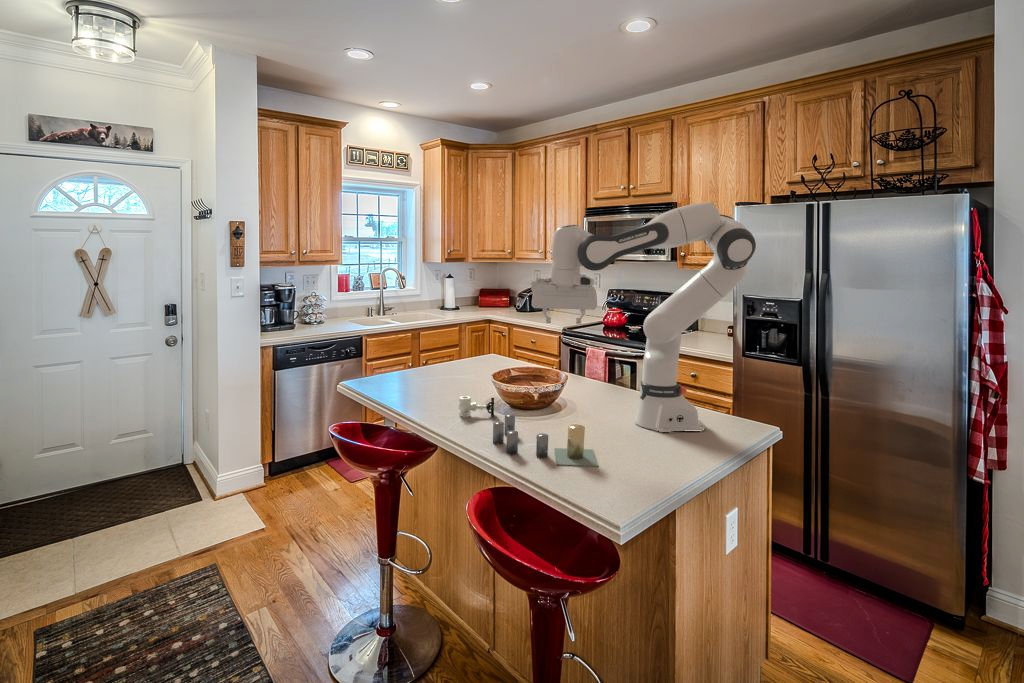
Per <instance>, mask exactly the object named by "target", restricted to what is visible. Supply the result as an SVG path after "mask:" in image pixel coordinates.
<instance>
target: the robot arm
mask: <svg viewBox="0 0 1024 683" xmlns="http://www.w3.org/2000/svg"><path fill="white" fill-rule="evenodd" d="M700 241H701V242H702V241H703V242H704V244H705V245H706V246H707V248H708V249H709V250H710V252H711V253H713V256H712V258H711V260H710V261H709V263H707V265H705V266H704V267H703V268H702V269H700V270H699V271H698V272H696V273H695V274H694V275H693V276H692V277H691V278H690V279H689V280H688V281H686V282H685V283H684V284H683V285H681V286H680V288H678V289H677V290H676V291H674V293H672V294H671V295H670V296H669V297H667V298H666V299H665V300H664V301H663V302H662V303H660V304H659V305H658V306H657V307H656V308H655V309H653V310H652V311H651V312H650V313H648V315H647V316H646V317H645V319H644V321H643V328H642V329H643V333H644V335H645V337H646V342H645V349H644V356H643V364H642V377H641V378H642V380H641V381H640V386H639V398H640V399H639V404H638V410H637V413H636V416H635V418H634V424H636V425H637V426H639V427H641V428H644V429H648V430H652V431H656V432H658V431H659V433H662V432H669V433H672V432H671V431H685V430H703V429H705V430H706V425H705V424H704V422H703V421H701V419H699V413H698V410H697V408H696V407H695V405H693V404H692V403H691V402H690V401H689V400H687V399H686V397H684V396H683V395H685V394H687V388H686V387H684V386H682V385H680V384H679V383H677V382H678V380H677V379H678V370H679V357H680V350H681V339H682V334H683V332H685V331H687V329H688V328H689V327H690V326H692V325H693V324H694V323H695V322H696V321H697V320H699V319H700V317H702V316H703V315H705V313H707V312H709V310H710V309H712V308H713V307H714V306H715V305H717V304H718V303H719V302H720V301H721V300H723V298H725V297H726V296H728V294H730V293H731V291H733V290H734V289H735V287H737V286H738V285H739V283H740V282H741V281H742V280H743V279H744V278H745V277H746V273H747V267H746V265H747V264H748V262H749V261H750V260H751V258H752V257H753V255H754V253H755V251H756V247H757V243H756V239H755V237H754V235H753V233H751V232H750V230H748V229H747V227H746V226H744V225H743V223H740V222H739V221H737V220H735V218H733V217H731V216H730V215H726V214H720V211H719V209H718V208H717V206H716V205H715V204H713V203H711V202H707V201H706V202H698V203H692V204H687V205H684V206H679V207H676V208H672V209H669V210H668V211H665V212H663V213H660V214H659V215H657V216H655V217H654V218H652V219H651V220H649V221H647V223H645V224H644V225H642V226H640V227H637V228H634V229H631V230H628V231H624V232H620V233H617V234H614V235H603V234H594V233H593V234H592V233H590V232H588V231H586V229H585V230H584V229H583V228H582V227H581V226H580V225H577V224H570V225H564V226H560V227H558V228H557V229H556V230H555V231H554V232H553V236H552V242H551V243H552V245H551V257H552V264H551V267H550V278H547V277H544V278H540V277H536V279H533V280H532V281H531V284H530V290H531V292H532V295H531V296H532V298H531V307H532V308H533V309H542V313H543V315H544V317H545V323H546V324H551V320H552V319H551V318H552V317H551V316H548V314H547V312H548V309H553V310H554V309H556V310H558V309H559V310H579V312H580V315H579V316H578V317H575V318H576V319H575V320H576V321H575V324H576V325H581V324H582V319H583V317H584V316H585V314H586V310H591V311H593V310H596V309H597V307H598V295H597V290H596V287H594V284H595V280H594V278H593V277H590V276H587V275H586V274H582V273H581V267H584V268H585V269H587V270H590V271H592V272H593V271H594V272H595V271H597V272H598V271H601V270H604V269H605V268H606V267H608V266H609V265H611V263H612V262H614V261H615V260H617V259H618V258H620V257H623V256H627V255H630V254H633V253H636V252H640V251H642V250H647V249H659V250H660V249H661V250H663V249H664V250H665V249H672V248H673V249H674V248H678V247H679V248H680V247H683V246H686V245H689V244H692V243H694V242H700Z"/></svg>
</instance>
